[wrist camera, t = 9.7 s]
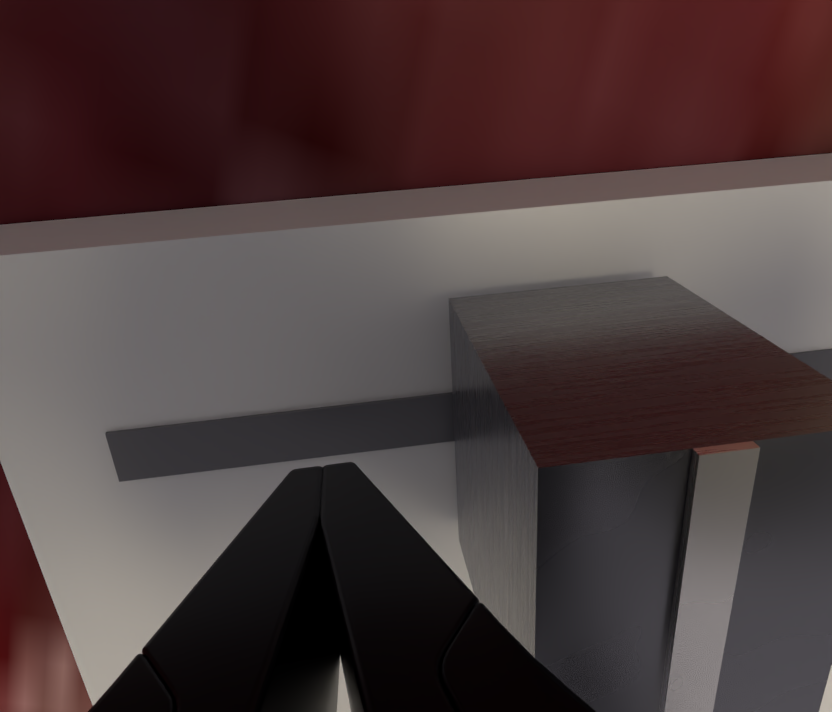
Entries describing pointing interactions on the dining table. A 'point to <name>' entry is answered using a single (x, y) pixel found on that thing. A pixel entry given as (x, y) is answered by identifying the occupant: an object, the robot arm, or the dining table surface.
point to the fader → (646, 495)
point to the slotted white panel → (327, 353)
